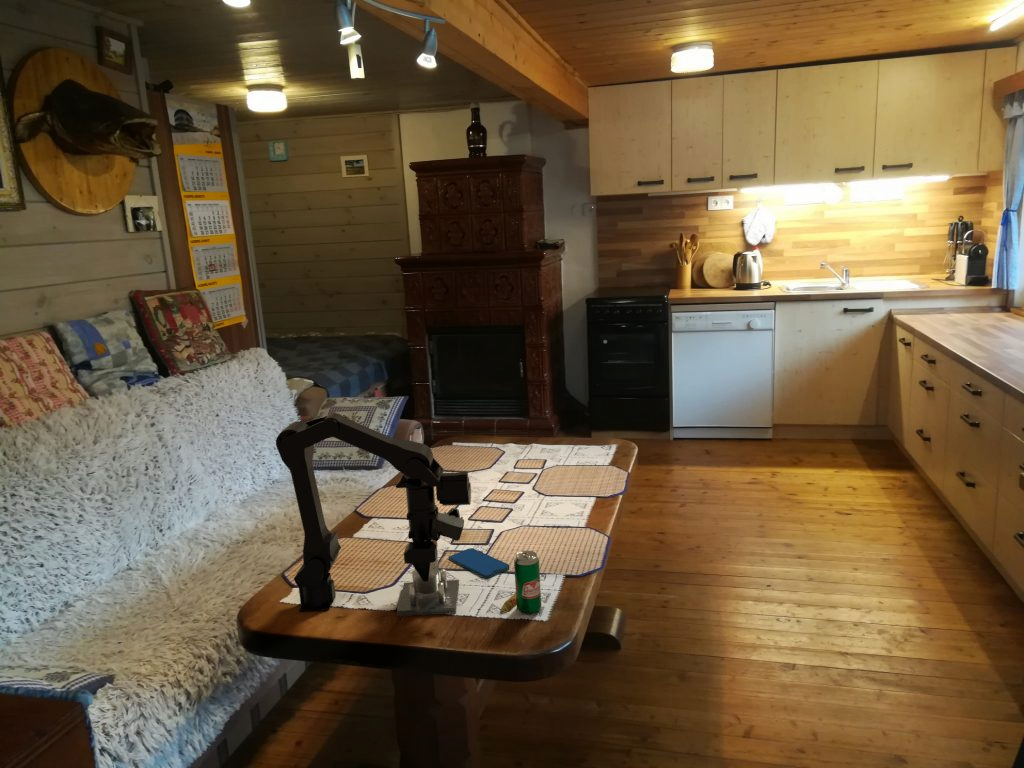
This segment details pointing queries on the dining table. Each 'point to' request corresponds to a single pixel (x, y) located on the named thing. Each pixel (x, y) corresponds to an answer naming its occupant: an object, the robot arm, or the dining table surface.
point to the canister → (433, 580)
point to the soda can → (527, 582)
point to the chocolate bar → (509, 604)
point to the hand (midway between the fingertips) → (427, 575)
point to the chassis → (429, 598)
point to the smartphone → (479, 563)
